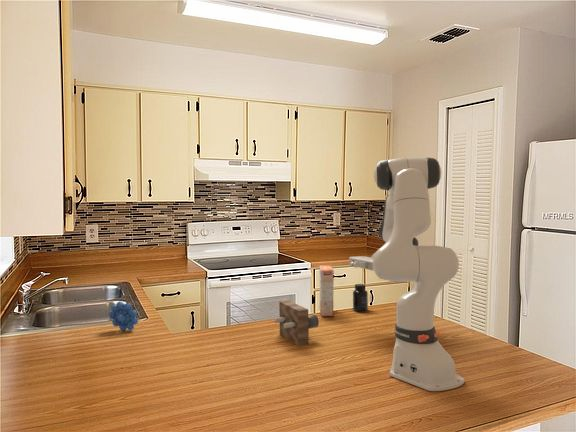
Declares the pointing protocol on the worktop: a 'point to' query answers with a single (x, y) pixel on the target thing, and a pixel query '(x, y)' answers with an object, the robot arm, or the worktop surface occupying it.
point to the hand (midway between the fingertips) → (352, 265)
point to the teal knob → (280, 319)
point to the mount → (294, 314)
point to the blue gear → (123, 316)
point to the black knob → (312, 322)
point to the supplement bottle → (360, 298)
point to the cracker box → (326, 290)
